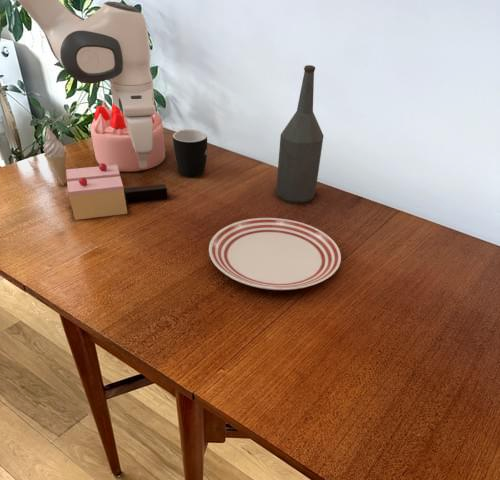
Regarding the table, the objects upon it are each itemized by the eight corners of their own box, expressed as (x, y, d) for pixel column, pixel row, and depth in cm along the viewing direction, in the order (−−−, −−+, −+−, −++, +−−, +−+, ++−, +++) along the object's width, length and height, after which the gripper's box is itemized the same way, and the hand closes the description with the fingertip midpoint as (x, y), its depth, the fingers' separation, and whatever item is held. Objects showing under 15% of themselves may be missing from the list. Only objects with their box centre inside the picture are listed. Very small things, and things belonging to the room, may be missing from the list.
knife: (72, 210, 111) (68, 194, 108) (71, 205, 112) (67, 190, 110) (167, 199, 116) (166, 184, 114) (165, 195, 118) (164, 180, 115)
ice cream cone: (48, 185, 120) (32, 125, 109) (64, 179, 123) (50, 120, 112) (61, 191, 118) (45, 130, 107) (77, 184, 121) (63, 124, 110)
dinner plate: (245, 217, 111) (245, 204, 109) (354, 247, 103) (357, 234, 101) (184, 276, 93) (183, 262, 91) (311, 319, 85) (314, 305, 83)
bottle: (281, 183, 125) (292, 58, 105) (317, 189, 123) (335, 62, 103) (272, 201, 118) (282, 69, 97) (310, 207, 116) (328, 74, 96)
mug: (211, 178, 126) (210, 140, 119) (178, 181, 124) (175, 143, 117) (202, 160, 134) (201, 124, 127) (171, 162, 132) (168, 126, 126)
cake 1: (75, 220, 108) (66, 184, 102) (72, 196, 116) (64, 162, 110) (127, 213, 111) (121, 178, 105) (121, 191, 119) (116, 157, 113)
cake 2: (179, 159, 134) (175, 107, 125) (121, 179, 123) (112, 124, 114) (138, 139, 144) (132, 90, 134) (81, 157, 133) (70, 104, 123)
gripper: (112, 81, 106) (121, 143, 115) (123, 110, 92) (132, 177, 101) (140, 80, 107) (146, 141, 117) (155, 109, 93) (161, 175, 103)
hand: (140, 158), depth 109 cm, fingers open, 8 cm apart
